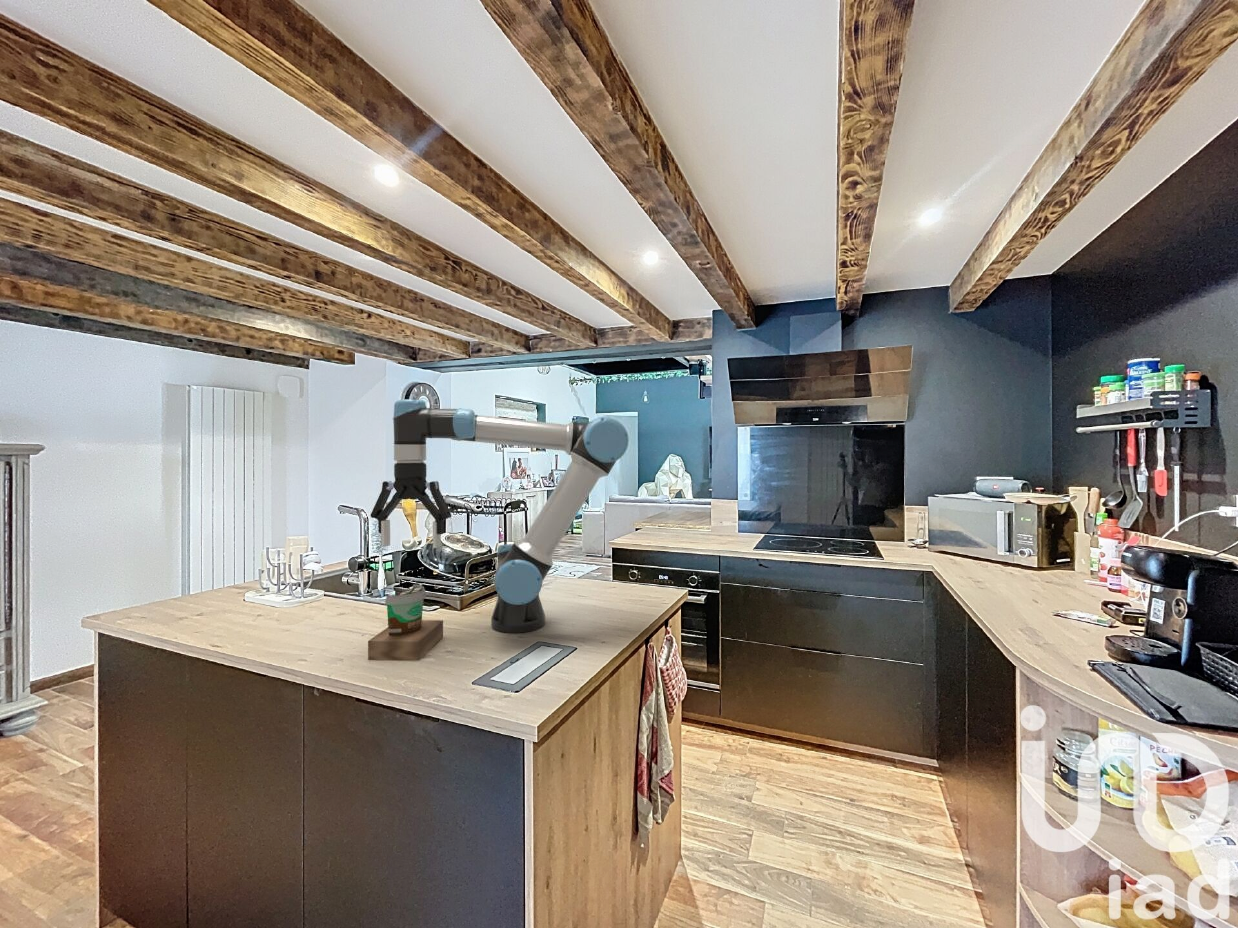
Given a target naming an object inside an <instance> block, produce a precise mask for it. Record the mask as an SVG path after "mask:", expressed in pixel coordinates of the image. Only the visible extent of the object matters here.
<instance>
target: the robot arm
mask: <svg viewBox="0 0 1238 928" xmlns="http://www.w3.org/2000/svg"><path fill="white" fill-rule="evenodd" d="M392 420H393V460H394V461H395V463H394V464H393V469H394V470H393V471H394V472H393V476H394V482H393V481H391V480H387V481H382V485H381V491H380V494H379V496H378V498H377V499H376V501H375V504H374V506H373V509H372V511H371V512H370V518H372V519H375V520H377V523H378V524H377V525H378V530H377V531H378V533H379V534H380V535H381V537H380V538H381V539H380V541H381V545H380V546H381V548H386V547H389V546H391V520H390V519H389V516H390V515H391V513H393V511H394V510H395V509H396V508H397V506H398V505H399V504H400V502H402V500H418V502H420V503H422V505H423V506H424V507H425V508H426V510H427V511H428V512H429V514H430V515H431V517H433V519H434V520H435V521H432V549H437V548H440V547H442V537H441V535H442V534H444V532H445V520H447V519H450V518H452V512H451V511H450V508H449V507H448V505H447V503H446V501H445V498H444V496H443V494H442V492H441V489H440V485H439V484H440V483H439V481H438V480H435V481H434V480H433V481H430V482H428V481H427V463H426V462H425V461H426V460H427V439H450V440H452V441H456V442H457V441H458V442H460V441H465V442H476V443H484V444H495V445H496V444H497V445H505V446H515V447H523V448H524V447H526V448H534V449H542V450H543V449H544V450H552V451H554V450H555V451H562V452H563V451H564V452H565V454H567V455H568V456H570V457H571V461H570V463H569V465H568V466H567V468H566V469H565V472H564V473H563V474H562V476H561V478H560V479H559V482H558V483H556V486H555V488H554V489H553V491H552V493H551V494H550V495H549V497H548V499H547V500H546V502H545V504H544V505H543V507H542V509H540V512H539V514H538V515H536V516H537V517H536V518H535V519H534V521H533V523H532V525H530V527H529V529H528V531H527V533H526V534H525V536H524V538H522V539H518V540H515V541H514V542H513V543H512V544H511V543H510V544H500V545H499V546H498V547H497V552H496V557H497V566H496V567H497V568H496V571H495V574H494V580H493V583H494V588H495V591H496V592H497V598H496V602H495V605H494V609H493V612H492V615H491V620H490V621H491V624H490V626H491V628H492V629H493V630H495V631H498V632H502V633H510V634H511V633H514V634H515V633H525V632H532V631H536V630H539V629H541V628H542V627H544V626H545V624H546V614H545V611H544V608H543V604H542V601H541V597H540V592H541V590H542V587H543V583H544V580H545V578H546V576H547V575H548V574H549V572H550V570H551V568H552V567H553V565H554V562H553V558H552V557H553V554H554V552H555V551H556V549H557V548H558V546H559V545H560V543H561V541H562V540H563V538H564V536H565V534H567V531H568V529H569V528H570V526H571V525H572V524H573V521H575V519H576V517H577V516H578V513H579V512H580V510H581V509H582V507H583V505H584V504H585V502H586V500H587V499H588V497H589V496H590V493H591V492H592V490H593V489H594V488H595V485H596V484H597V483H598V481H599V479H601V478H603V477H607V476H609V474H610V472H611V470H613V467H614V466H615V464H616V462H617V461H619V460H620V459H621V458H622V457H623V456H624V455H625V453H626V451H627V450H628V447H629V434H628V432H627V430H626V427H625V426H624V425H623V424H622V423H621V422H620V421H619V420H617V419H615V418H612V417H609V416H608V417H607V416H600V417H597V418H594V419H593V420H591V421H587V422H586V421H585V422H584V421H583V422H581V421H580V422H577V421H570V422H569V423H568V424H563V423H554V422H553V423H552V422H544V421H537V420H529V419H528V420H526V419H516V418H507V417H500V416H499V417H498V416H489V415H482V414H479V415H478V414H475V411H474V410H473V409H471V408H462V407H461V408H430V407H427V403H426V401H424V400H421V399H407V398H406V399H398V400H396V401H394V406H393V418H392ZM393 490H395V492H394V494H393V496H392V497H391V499H390V500H389V498H390V495H391V493H392V491H393ZM426 490H429V491H430V494H431V496H432V499H433V501H434V502H435V503H434V502H433V501H432V499H431V497H430V496H429V494H428V493H427V492H426ZM387 502H388V503H387Z"/></svg>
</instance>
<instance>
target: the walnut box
mask: <svg viewBox="0 0 1238 928" xmlns="http://www.w3.org/2000/svg"><path fill="white" fill-rule="evenodd" d="M443 638H444V620H439V619H436V620H435V619H434V620H433V619H427V620H425V619H422V623H421V629H420V630H419V631H417V632H414V633H411V634H406V635H397V636H389V629H388V627H386V628H384V629H383V630H382V631H380V632H379V633H378V634H377V635H374V636H373V637H371V638H370V639H369V640H368V641H367V660H368V661H416V662H417V661H420V660H421V659H422V658H423V657H424V656H425V655H426V654H427V653H428V652H429V651H430V650H431V649H432V648H434V646H436V644H438V643H439V642H440V641H441V640H442V639H443Z"/></svg>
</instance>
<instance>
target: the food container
mask: <svg viewBox="0 0 1238 928" xmlns="http://www.w3.org/2000/svg"><path fill="white" fill-rule="evenodd" d="M385 597H386V598H385V600H384V601H385V603H384V605H386V611H387V628H388V629H389V636H397V635H406V634H411V633H414V632H417V631H419V630H420V629H421V623H422V620H423V609H424V600H425V598H427V592H426V589H425V587H424V586H422V585H421V584H412V587H411V588H410V589H406V590H403V591H399V592H398V593H397V594H396V595H395V594H394V595H386V596H385Z"/></svg>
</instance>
